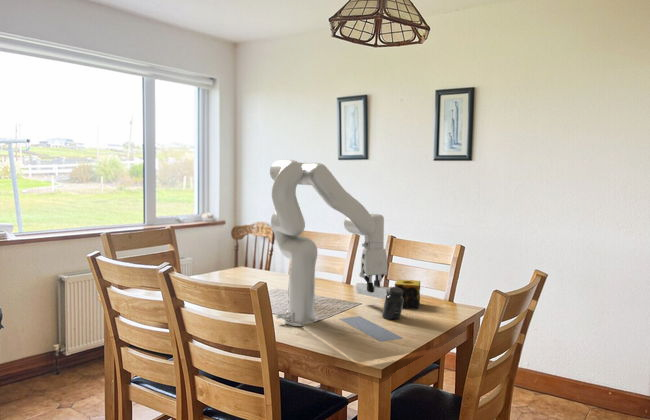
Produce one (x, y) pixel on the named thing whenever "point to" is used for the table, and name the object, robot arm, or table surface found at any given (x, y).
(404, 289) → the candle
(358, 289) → the metal bar
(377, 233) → the robot arm
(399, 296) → the supplement bottle
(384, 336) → the board
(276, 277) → the table surface
